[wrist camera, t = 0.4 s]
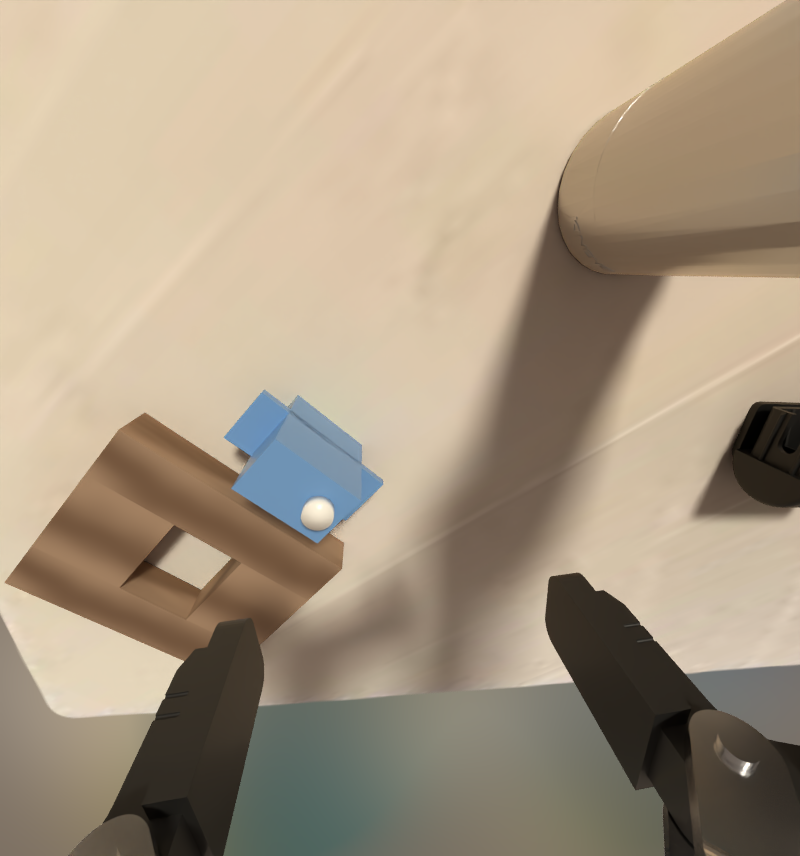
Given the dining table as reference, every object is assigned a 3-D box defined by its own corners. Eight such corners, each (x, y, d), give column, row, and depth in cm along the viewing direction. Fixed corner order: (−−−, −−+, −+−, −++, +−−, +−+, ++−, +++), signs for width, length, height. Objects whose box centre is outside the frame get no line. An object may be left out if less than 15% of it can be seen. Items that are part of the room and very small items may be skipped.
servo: (240, 416, 26) (191, 475, 19) (274, 376, 26) (237, 421, 18) (347, 493, 30) (342, 569, 22) (380, 460, 29) (387, 527, 21)
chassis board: (144, 412, 26) (118, 429, 23) (343, 542, 32) (341, 568, 29) (37, 553, 29) (4, 582, 27) (234, 646, 35) (223, 678, 33)
